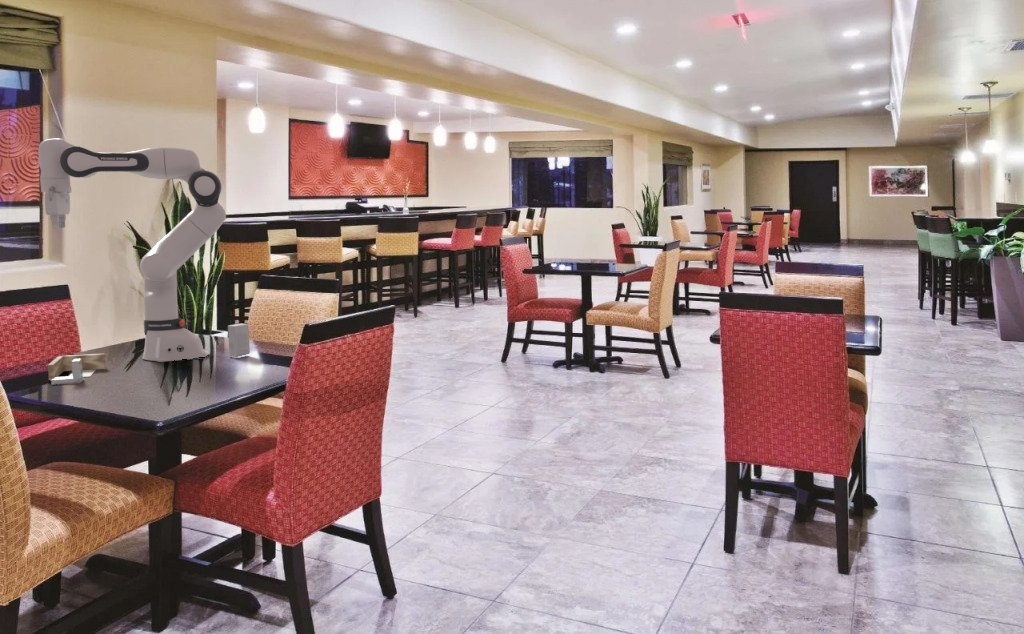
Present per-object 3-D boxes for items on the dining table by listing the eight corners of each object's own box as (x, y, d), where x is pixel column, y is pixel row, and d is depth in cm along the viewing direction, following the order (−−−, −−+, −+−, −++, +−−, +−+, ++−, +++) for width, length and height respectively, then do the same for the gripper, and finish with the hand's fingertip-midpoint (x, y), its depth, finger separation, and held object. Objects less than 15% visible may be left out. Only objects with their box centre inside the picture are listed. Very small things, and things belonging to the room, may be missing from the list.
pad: (95, 370, 267) (95, 369, 267) (90, 376, 256) (90, 376, 256) (73, 371, 264) (73, 370, 264) (67, 378, 254) (66, 377, 254)
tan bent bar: (106, 368, 270) (105, 353, 270) (98, 377, 255) (97, 362, 255) (59, 370, 266) (58, 355, 265) (48, 380, 251) (47, 365, 250)
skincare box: (242, 355, 294) (241, 323, 292) (250, 356, 291) (248, 324, 290) (228, 357, 289) (227, 325, 287) (236, 359, 286) (234, 326, 285)
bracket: (83, 380, 252) (81, 358, 251) (80, 383, 248) (78, 360, 247) (54, 381, 249) (52, 359, 248) (51, 384, 245) (49, 362, 244)
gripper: (59, 186, 261) (63, 229, 263) (72, 187, 281) (75, 227, 283) (38, 186, 259) (41, 229, 261) (51, 187, 279) (55, 227, 281)
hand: (59, 228), depth 272 cm, fingers open, 8 cm apart
